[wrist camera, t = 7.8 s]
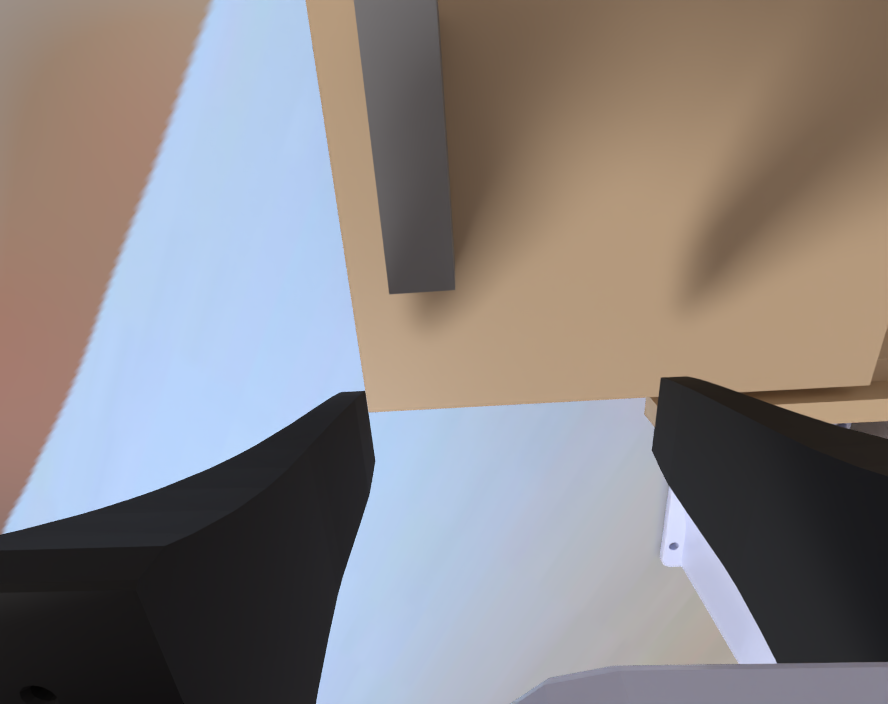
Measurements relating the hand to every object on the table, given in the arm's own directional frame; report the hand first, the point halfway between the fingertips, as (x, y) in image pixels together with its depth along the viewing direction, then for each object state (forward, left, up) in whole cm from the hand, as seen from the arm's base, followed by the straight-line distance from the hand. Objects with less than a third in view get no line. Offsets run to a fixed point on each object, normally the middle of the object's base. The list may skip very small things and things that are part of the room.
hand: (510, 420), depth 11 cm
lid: (+6, -4, -4) cm, 8 cm away
